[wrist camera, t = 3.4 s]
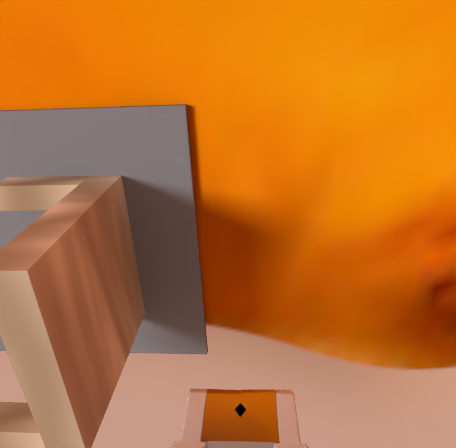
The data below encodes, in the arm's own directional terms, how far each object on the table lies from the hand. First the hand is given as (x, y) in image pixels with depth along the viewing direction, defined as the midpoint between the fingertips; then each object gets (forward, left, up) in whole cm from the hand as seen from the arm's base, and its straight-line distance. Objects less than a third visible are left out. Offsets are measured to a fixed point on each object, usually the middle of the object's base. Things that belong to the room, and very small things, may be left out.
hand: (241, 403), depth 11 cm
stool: (+8, 0, -9) cm, 12 cm away
